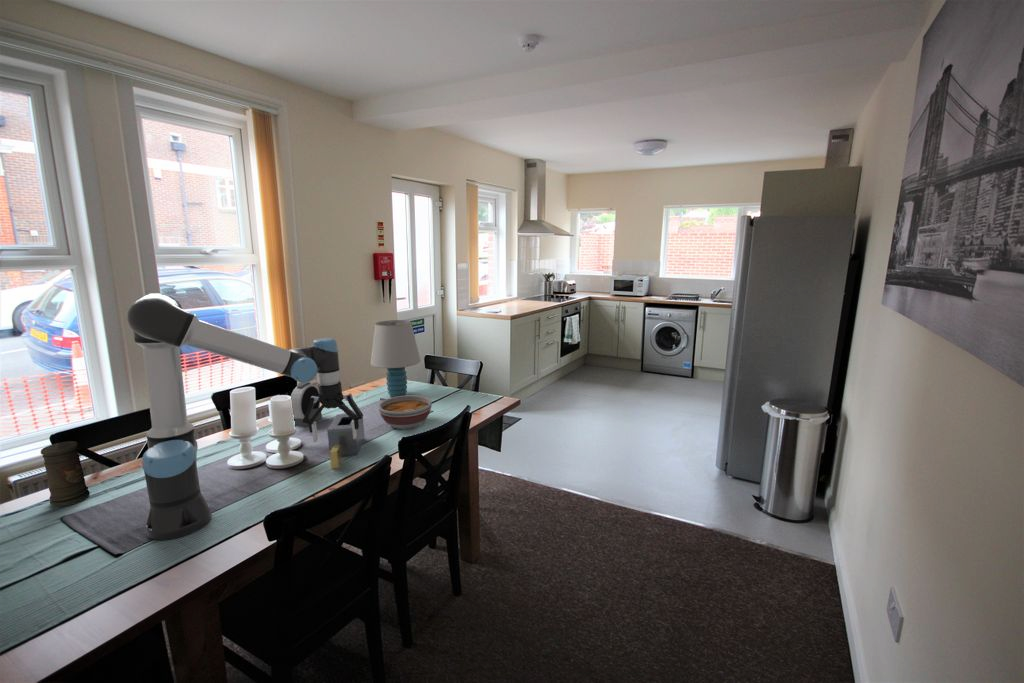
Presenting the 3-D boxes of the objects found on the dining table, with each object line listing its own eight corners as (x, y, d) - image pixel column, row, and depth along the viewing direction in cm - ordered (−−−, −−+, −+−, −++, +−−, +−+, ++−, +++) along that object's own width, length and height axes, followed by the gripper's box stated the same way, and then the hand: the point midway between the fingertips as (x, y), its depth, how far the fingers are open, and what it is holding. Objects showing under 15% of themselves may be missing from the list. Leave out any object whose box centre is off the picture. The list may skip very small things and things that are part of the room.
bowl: (437, 429, 200) (436, 407, 198) (383, 438, 192) (381, 415, 190) (426, 412, 221) (426, 392, 219) (377, 419, 213) (375, 398, 211)
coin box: (364, 438, 192) (362, 413, 190) (357, 455, 176) (355, 427, 174) (339, 439, 191) (337, 414, 188) (329, 457, 175) (327, 429, 173)
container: (43, 509, 141) (30, 454, 138) (62, 494, 150) (51, 442, 146) (79, 504, 143) (67, 450, 140) (96, 490, 152) (85, 438, 148)
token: (338, 468, 166) (336, 451, 165) (331, 468, 166) (329, 451, 164) (342, 460, 172) (340, 444, 171) (335, 461, 172) (333, 444, 170)
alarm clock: (307, 428, 203) (303, 388, 199) (286, 427, 204) (281, 387, 201) (327, 415, 218) (324, 378, 215) (307, 414, 220) (303, 377, 216)
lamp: (407, 385, 265) (404, 317, 257) (430, 396, 246) (427, 322, 238) (365, 394, 249) (359, 322, 241) (385, 406, 230) (380, 328, 222)
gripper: (367, 377, 168) (372, 432, 172) (295, 381, 165) (302, 437, 169) (364, 383, 161) (369, 440, 165) (288, 387, 157) (295, 446, 162)
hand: (335, 439), depth 167 cm, fingers open, 13 cm apart
